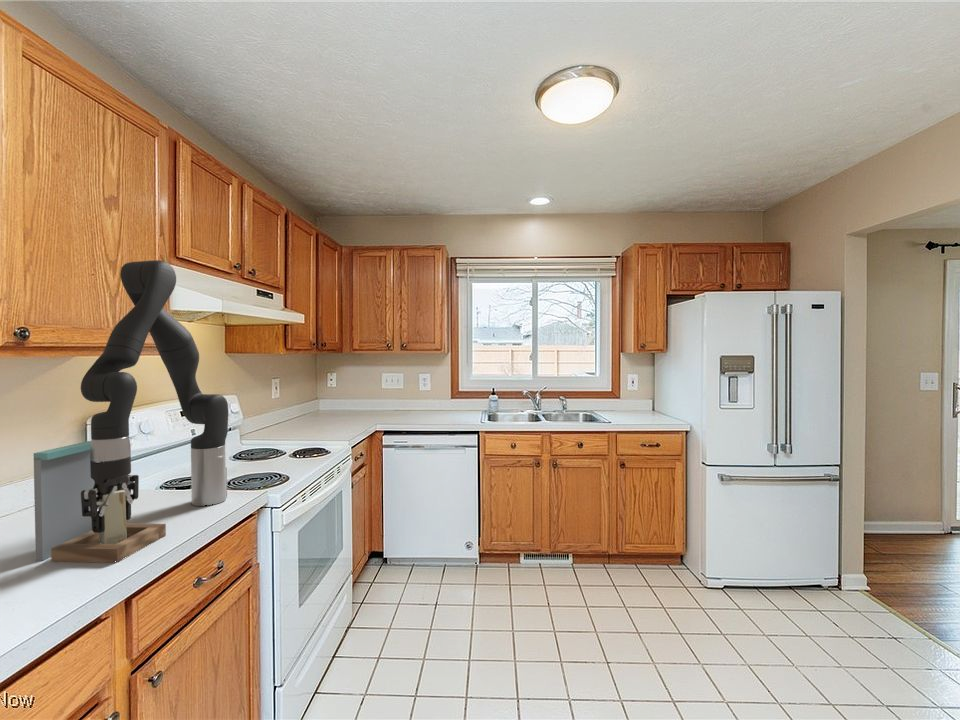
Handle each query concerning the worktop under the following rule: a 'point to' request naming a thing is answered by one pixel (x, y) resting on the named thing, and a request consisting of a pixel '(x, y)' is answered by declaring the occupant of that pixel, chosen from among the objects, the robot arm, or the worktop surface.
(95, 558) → the socket block
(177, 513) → the worktop surface
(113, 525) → the skincare box
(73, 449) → the board
